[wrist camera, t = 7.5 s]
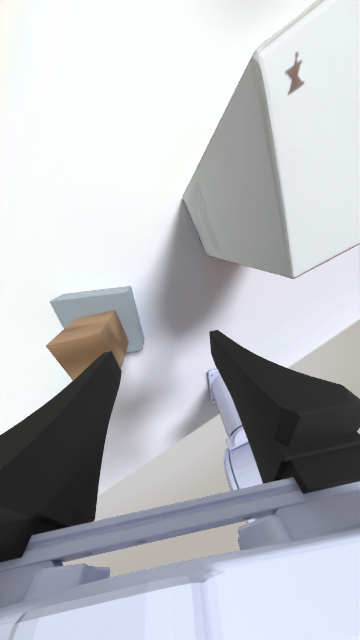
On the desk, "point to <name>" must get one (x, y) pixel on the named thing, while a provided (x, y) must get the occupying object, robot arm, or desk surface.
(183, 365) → the desk surface
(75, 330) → the walnut block
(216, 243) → the small box
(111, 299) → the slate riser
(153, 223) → the desk surface
